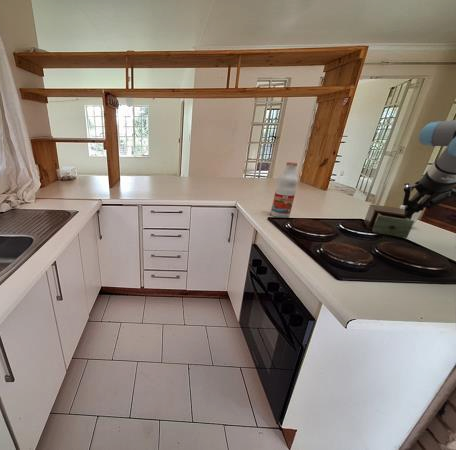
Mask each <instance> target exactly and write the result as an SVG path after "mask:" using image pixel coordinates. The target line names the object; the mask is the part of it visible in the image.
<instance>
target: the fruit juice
mask: <svg viewBox="0 0 456 450" xmlns="http://www.w3.org/2000/svg"><path fill="white" fill-rule="evenodd" d="M297 167H298V163H297V162H287V161H286V162H285V168H284V170H283V171H282V173H280V176H279V177H278V180H277V186H276V187H275V191H274V194H273V199H272V205H271V209H270V215H271V216H273V217H277V218H280V219H281V218H282V219H287V218H289V217H290V215H291V213H292V208H293V204H294V200H295V197H296V191H297V190H296V187H297V185H298V183H299V178H298V174H297Z"/></svg>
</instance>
